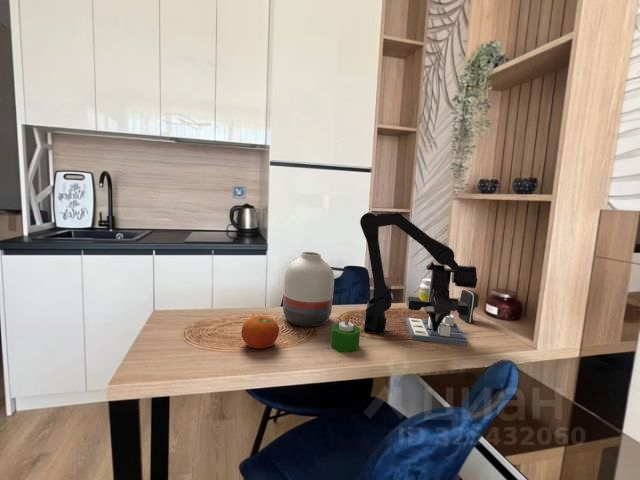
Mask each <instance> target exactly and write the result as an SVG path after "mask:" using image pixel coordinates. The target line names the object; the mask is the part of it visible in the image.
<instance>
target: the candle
mask: <svg viewBox="0 0 640 480" xmlns="http://www.w3.org/2000/svg"><path fill="white" fill-rule="evenodd" d="M330 336H331V338H330V348H332V349H333V350H334V351H337V352H340V353H347V354H348V353H355V352H357V351H358V350H359V346H360V336H361V328H360V327H359V326H357V325H355V324H354V323H352V322H351V321H350V315H349V313H345V315H344V321H340V322H339V323H335V324H333V325H332V327H331V335H330Z"/></svg>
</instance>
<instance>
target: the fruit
mask: <svg viewBox="0 0 640 480" xmlns="http://www.w3.org/2000/svg"><path fill="white" fill-rule="evenodd" d="M279 328H280V327H279V325H278V323H277V321H275V320H274V318H272V317H270V316H266V315H256V316H255V315H254V316H252V317H250V318H249V319H247V320H246V321H245V322H244V323H243V325H242V327H241V338H242V340H243V342H244V343H245V344H246V345H247V346H248V347H250V348H253V349H267V348H269V347H272V346H273V345H274V343H275V342H276V341H277V339H278V337H279V335H280V329H279Z"/></svg>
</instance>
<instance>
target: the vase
mask: <svg viewBox="0 0 640 480" xmlns="http://www.w3.org/2000/svg"><path fill="white" fill-rule="evenodd" d="M334 284H335V275H334V271H333V268H332V267H331V265H330V264H328V262H326V261H325V260H324V259H323V258H322V256H321V253H320V252H318V251H317V252H316V251H303V252H301V254H300V256H299V257H298V258H296V259H295V260H293V261H292V262H291V263H289V265H288V266H287V267H286V270H285V274H284V279H283V295H282V296H283V297H282V298H283V299H282V309H283V311H282V312H283V315H284V317H285V319H286V320H287V321H288V322H289V323H291V324H293V325H295V326H300V327H306V328H307V327H318V326H321V325H324V324H325V323H326V322H328V321H329V319H330V317H331V314H332V310H333V309H332V308H333V302H334V300H333V298H334V288H335V285H334Z"/></svg>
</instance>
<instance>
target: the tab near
mask: <svg viewBox="0 0 640 480" xmlns="http://www.w3.org/2000/svg"><path fill="white" fill-rule="evenodd" d="M450 329H451V327H450V326H449V324H445V323H440V325H439V327H438V333H439V335H441V336H450Z"/></svg>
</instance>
